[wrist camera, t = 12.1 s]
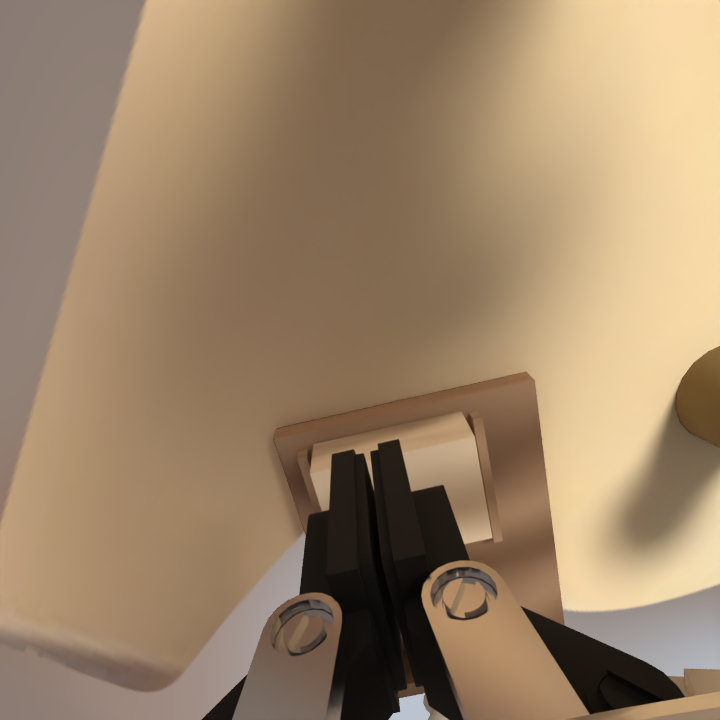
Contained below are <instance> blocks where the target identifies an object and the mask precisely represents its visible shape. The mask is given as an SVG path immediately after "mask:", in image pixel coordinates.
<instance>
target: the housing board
mask: <svg viewBox="0 0 720 720" xmlns="http://www.w3.org/2000/svg"><path fill="white" fill-rule="evenodd" d="M458 411H462V413H463V415H464V417H465V419H466V421H467V423H468V425H469V427H470V429H471V430H472V432H473V434H474V436H475V441H476V446H477V452H478V458H479V464H480V469H481V475H482V481H483V486H484V492H485V498H486V503H487V509H488V515H489V521H490V526H491V532H492V538H491V539H486V540H481V541H476V542H472V543H467V544H464V545H465V547H466V550H467V553H468V556H469V559H470V561H475V562H479V563H483V564H485V565H487V566H489V567H491V568H492V569H494V570H495V571H496V572H497V573H498V574H499V575H500V576H501V577H502V578H503V580H504V582H505V583H506V585H507V586H508V588H509V589H510V591H511V592H512V594H513V596H514V597H515V599H516V600H517V602H518V603H519V605H520V606H522V607H524V608H526V609H529V610H531V611H533V612H535V613H537V614H540V615H542V616H544V617H546V618H549V619H551V620H553V621H555V622H558V623H560V624H562V625H564V617H563V609H562V601H561V593H560V585H559V576H558V568H557V560H556V552H555V544H554V535H553V527H552V519H551V511H550V503H549V495H548V486H547V478H546V470H545V462H544V454H543V446H542V437H541V429H540V421H539V413H538V405H537V396H536V388H535V380H534V379H533V378H532V377H531V376H530V375H529V374H528V373H527V372H523V373H519V374H515V375H510V376H506V377H501V378H497V379H493V380H488V381H484V382H479V383H475V384H471V385H466V386H462V387H458V388H453V389H449V390H444V391H440V392H436V393H431V394H427V395H422V396H418V397H414V398H409V399H405V400H400V401H396V402H392V403H387V404H383V405H378V406H374V407H370V408H365V409H361V410H356V411H352V412H348V413H343V414H339V415H335V416H330V417H326V418H321V419H317V420H313V421H308V422H304V423H299V424H295V425H291V426H286V427H282V428H277V429H276V432H275V436H274V442H275V445H276V448H277V451H278V454H279V457H280V460H281V463H282V466H283V469H284V472H285V475H286V478H287V481H288V484H289V487H290V490H291V493H292V496H293V499H294V502H295V505H296V507H297V510H298V513H299V516H300V519H301V522H302V525H303V528H304V531H305V534H306V531H307V522H308V517H309V515H310V514H313V513H317V512H322V510H321V507H320V504H319V501H318V498H317V494H316V491H315V488H314V485H313V482H312V479H311V475H310V468H311V460H312V452H313V444H316V443H321V442H325V441H329V440H334V439H338V438H343V437H347V436H352V435H356V434H361V433H365V432H369V431H374V430H378V429H383V428H387V427H392V426H396V425H401V424H405V423H409V422H414V421H418V420H423V419H427V418H432V417H436V416H440V415H445V414H449V413H454V412H458ZM564 626H565V625H564ZM401 640H402V638H401ZM402 648H403V656H404V663H405V671H406V679H407V690H402V691H398V697H399V698H402V697H407V696H412V695H417V694H423V693H425V690H424V687H423V686H422V687H417V688H416V686H415V683H414V679H413V675H412V672H411V668H410V664H409V661H408V657H407V654H406V650H405V646H404V643H403V640H402Z"/></svg>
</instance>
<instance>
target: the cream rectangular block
mask: <svg viewBox="0 0 720 720" xmlns="http://www.w3.org/2000/svg"><path fill="white" fill-rule="evenodd" d="M396 439H399V441H400V445H401V450H402V454H403V458H404V462H405V466H406V471H407V475H408V479H409V483H410V488H411V492H412V491H416V490H421V489H426V488H430V487H435V486H439V485H444V488H445V490H446V493H447V496H448V499H449V502H450V504H451V507H452V510H453V513H454V516H455V519H456V522H457V525H458V527H459V530H460V533H461V536H462V539H463V542H464V544H467V543H472V542H476V541H481V540H486V539H491V538H492V532H491V526H490V521H489V515H488V509H487V503H486V498H485V492H484V486H483V481H482V475H481V469H480V464H479V458H478V452H477V446H476V441H475V436H474V434H473V432H472V430H471V429H470V427H469V425H468V423H467V421H466V419H465V417H464V415H463V413H462V411H458V412H454V413H449V414H445V415H440V416H436V417H432V418H427V419H423V420H418V421H414V422H409V423H405V424H401V425H396V426H392V427H387V428H383V429H378V430H374V431H369V432H365V433H361V434H356V435H352V436H347V437H343V438H338V439H334V440H329V441H325V442H321V443H316V444H313V452H312V460H311V468H310V475H311V479H312V482H313V485H314V488H315V491H316V494H317V498H318V501H319V504H320V507H321V510H322V511H326V510H329V500H330V478H331V457H332V454H334V453H339V452H343V451H347V450H352V449H354V450H355V453H356V454H361V453H364V456H365V459H366V463H367V466H368V470H369V474H370V478H371V481H372V485H373V489H374V484H373V475H372V465H371V456H370V451H374V450H378V445H377V444H378V443H383V442H387V441H391V440H396Z"/></svg>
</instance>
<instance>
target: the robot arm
mask: <svg viewBox="0 0 720 720" xmlns="http://www.w3.org/2000/svg"><path fill="white" fill-rule="evenodd" d="M377 445H378V450H374V451H370V456H371V465H372V475H373V484H374V489H373V485H372V481H371V478H370V474H369V470H368V466H367V463H366V459H365V456H364V453H361V454H356V453H355V450H354V449H352V450H347V451H343V452H339V453H334V454H332V457H331V478H330V500H329V510H326V511H322V512H317V513H313V514H310V515H309V517H308V522H307V531H306V540H305V549H304V558H303V567H302V577H301V586H300V594H299V595H298V596H296V597H294V598H292V599H290V600H288V601H286V602H285V603H284V604H282V605H281V606H280V607H278V608H277V609H276V610H275V611H274V613H273V614H272V615H271V616H270V617H269V619H268V621H267V623H266V625H265V627H264V629H263V631H262V634H261V637H260V640H259V643H258V646H257V649H256V652H255V655H254V658H253V660H252V663H251V666H250V669H249V672H248V674H247V675H246V676H245V677H244V678H243V679H242V680H241V681H240V682H239V683H238V684H237V685H236V686H235V687H234V688H233V689H232V690H231V691H230V692H229V693H228V694H227V695H226V696H225V697H224V698H223V699H222V700H221V701H220V702H219V703H218V704H217V705H216V706H215V707H214V708H213V709H212V710H211V711H210V712H209V713H208V714H207V715H206V716H205V717H204V718H203V719H202V720H388V719H389V718H390V717H391V715H392V714H393V713H397V712H400V706H399V697H398V691H402V690H407V679H406V671H405V663H404V656H403V648H402V640H401V635H402V639H403V643H404V646H405V650H406V654H407V657H408V661H409V664H410V668H411V672H412V675H413V679H414V683H415V686H416V688H417V687H422V686H423V687H424V690H425V694H426V698H427V701H428V705H429V706H430V707H432V708H433V709H434V710H436V711H437V712H439V713H440V714H442V715H443V716H444V717H446V718H447V719H449V720H720V670H715V669H714V670H712V669H684V677H673V676H666V675H665V674H664V673H663V672H662V671H660V670H658V669H657V668H655V667H653V666H652V665H650V664H648V663H646V662H644V661H642V660H640V659H638V658H635V657H633V656H631V655H629V654H627V653H624V652H622V651H620V650H618V649H615V648H613V647H611V646H609V645H606V644H604V643H602V642H600V641H597V640H595V639H593V638H591V637H588V636H587V635H584V634H582V633H580V632H578V631H575V630H573V629H571V628H569V627H566V626H564V625H562V624H560V623H558V622H555V621H553V620H551V619H549V618H546V617H544V616H542V615H540V614H537V613H535V612H533V611H531V610H529V609H526V608H524V607H522V606H520V605H519V603H518V602H517V600H516V599H515V597H514V596H513V594H512V592H511V591H510V589H509V588H508V586H507V585H506V583H505V582H504V580H503V578H502V577H501V576H500V575H499V574H498V573H497V572H496V571H495V570H494V569H492V568H491V567H489V566H487V565H485V564H483V563H479V562H475V561H470V559H469V556H468V553H467V550H466V547H465V545H464V542H463V539H462V536H461V533H460V530H459V527H458V525H457V522H456V519H455V516H454V513H453V510H452V507H451V504H450V502H449V499H448V496H447V493H446V490H445V488H444V485H439V486H435V487H430V488H426V489H421V490H416V491H412V492H411V488H410V483H409V479H408V475H407V471H406V466H405V462H404V458H403V454H402V450H401V445H400V441H399V439H396V440H391V441H387V442H383V443H378V444H377ZM400 632H401V633H400Z"/></svg>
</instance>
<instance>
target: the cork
mask: <svg viewBox="0 0 720 720" xmlns="http://www.w3.org/2000/svg"><path fill="white" fill-rule="evenodd" d="M676 411H677V414H678V417H679V420H680V423H681V424H682V425H683V426H684V427H685V428H686V429H687V430H688V432H689V433H691V434H693V435H695V436H698V437H700V438H702V439H704V440H706V441H708V442H710V443H712V444H714V445H716V446H718V447H720V346H719V347H717V348H715V349H713V350H711V351H709V352H707V353H706V354H705V355H704V356H702V357H701V358H700V359H699V360H697V361H696V362H695V363H694V364H693V365H692V366H691V368H690V369H689V370H688V372H687V373H686V374H685V376H684V377H683V378H682V381H681V384H680V386H679V389H678V391H677V394H676Z"/></svg>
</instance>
